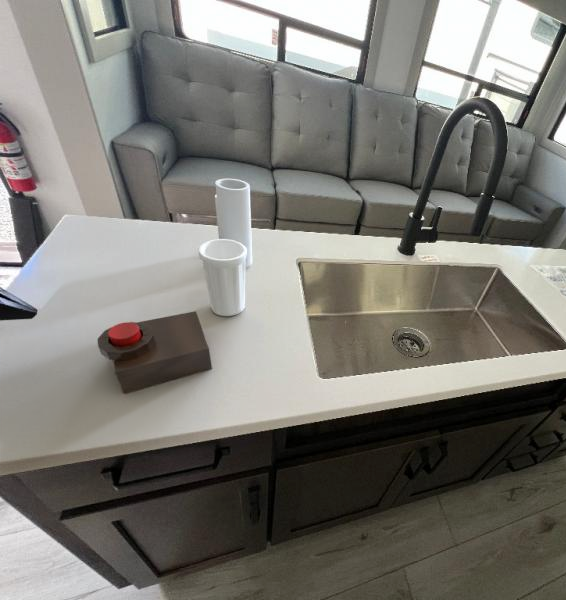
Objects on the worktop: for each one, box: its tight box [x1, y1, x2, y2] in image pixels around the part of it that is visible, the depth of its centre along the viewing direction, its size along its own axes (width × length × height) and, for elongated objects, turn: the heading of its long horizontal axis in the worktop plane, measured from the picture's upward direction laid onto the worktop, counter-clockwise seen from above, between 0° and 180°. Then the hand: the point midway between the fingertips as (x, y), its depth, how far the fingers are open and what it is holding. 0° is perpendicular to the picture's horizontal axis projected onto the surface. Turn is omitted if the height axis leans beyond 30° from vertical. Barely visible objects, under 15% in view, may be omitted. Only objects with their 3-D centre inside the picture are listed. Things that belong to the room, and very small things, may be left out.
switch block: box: [97, 311, 213, 395], centre depth 54 cm, size 13×10×7 cm
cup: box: [198, 238, 247, 317], centre depth 65 cm, size 8×8×14 cm
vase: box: [214, 177, 253, 269], centre depth 78 cm, size 11×7×20 cm, turn 24°
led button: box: [108, 321, 141, 347], centre depth 50 cm, size 4×4×2 cm
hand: (35, 314), depth 42 cm, fingers closed
